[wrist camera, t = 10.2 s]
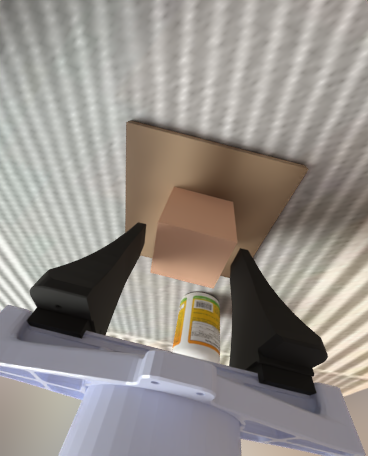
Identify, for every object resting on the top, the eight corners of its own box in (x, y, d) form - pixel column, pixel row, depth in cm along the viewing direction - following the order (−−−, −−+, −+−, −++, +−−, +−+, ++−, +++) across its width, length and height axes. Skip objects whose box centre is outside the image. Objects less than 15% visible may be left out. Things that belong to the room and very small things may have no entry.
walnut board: (127, 246, 22) (125, 251, 21) (130, 120, 14) (126, 121, 13) (237, 274, 22) (238, 280, 21) (304, 165, 14) (308, 169, 13)
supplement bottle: (192, 315, 29) (182, 399, 21) (174, 295, 26) (155, 381, 19) (226, 310, 27) (228, 401, 19) (209, 287, 24) (204, 382, 16)
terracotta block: (165, 232, 19) (150, 272, 15) (173, 186, 15) (157, 221, 12) (214, 245, 19) (213, 288, 15) (233, 201, 15) (237, 242, 12)
